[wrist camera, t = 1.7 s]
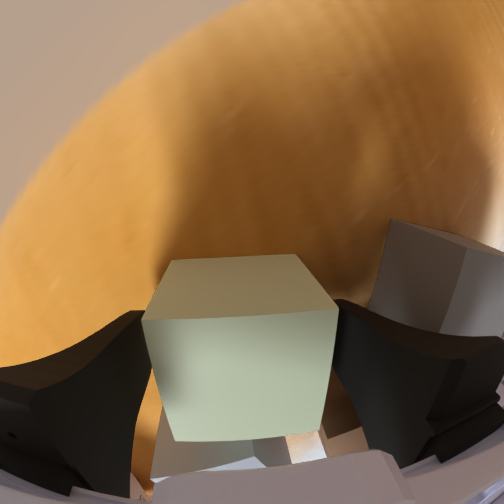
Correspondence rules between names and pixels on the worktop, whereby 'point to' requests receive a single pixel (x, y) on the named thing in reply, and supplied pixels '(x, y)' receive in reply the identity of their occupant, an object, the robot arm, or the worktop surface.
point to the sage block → (241, 347)
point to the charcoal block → (440, 282)
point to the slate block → (213, 454)
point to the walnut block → (340, 421)
